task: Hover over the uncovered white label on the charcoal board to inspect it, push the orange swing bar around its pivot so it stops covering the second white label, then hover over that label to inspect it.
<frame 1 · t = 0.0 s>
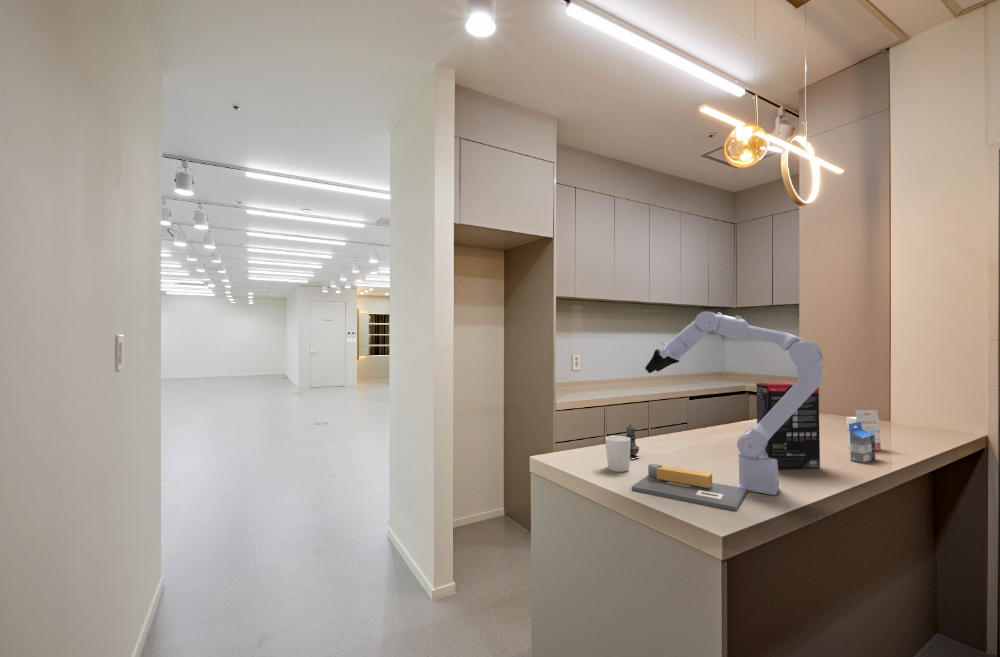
hand: (651, 369, 139), 32 cm above the worktop, tool tilted 50°, fingers open, 7 cm apart
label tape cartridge: (863, 460, 146), on the worktop
graphics card box: (789, 467, 140), on the worktop
swing bar: (678, 475, 124), point 3 cm above the worktop, hinge at 0.0°
label board: (688, 491, 119), on the worktop
white cup: (618, 469, 141), on the worktop
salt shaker: (631, 457, 155), on the worktop
ink cartridge box: (863, 449, 159), on the worktop
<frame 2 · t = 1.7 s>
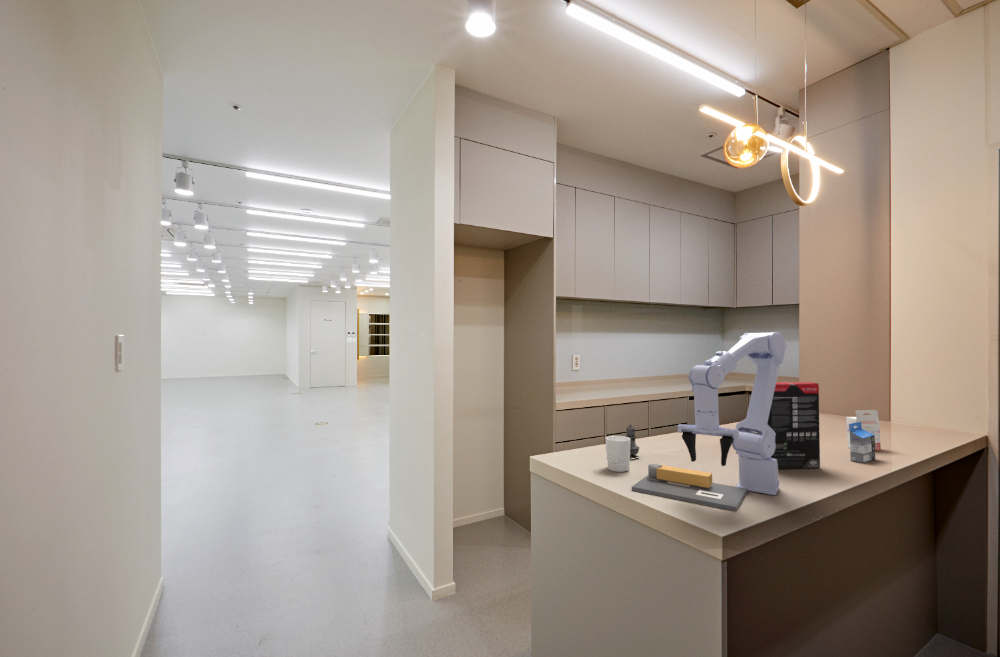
hand: (708, 462, 114), 9 cm above the worktop, tool pointing down, fingers open, 7 cm apart
nothing on the worktop moved.
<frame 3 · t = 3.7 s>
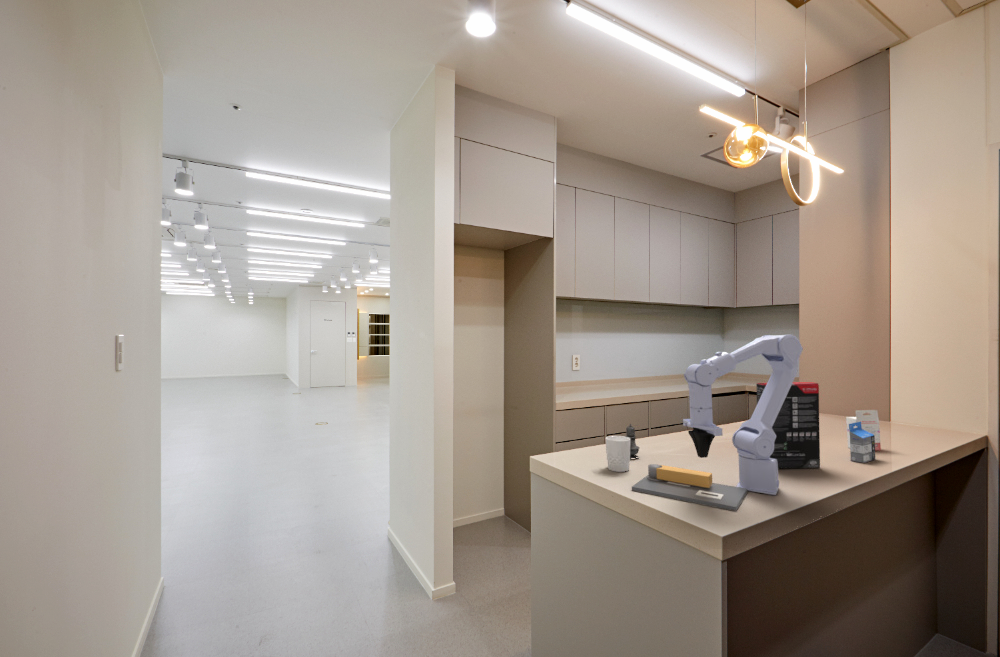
hand: (702, 456, 120), 9 cm above the worktop, tool pointing down, fingers closed
nothing on the worktop moved.
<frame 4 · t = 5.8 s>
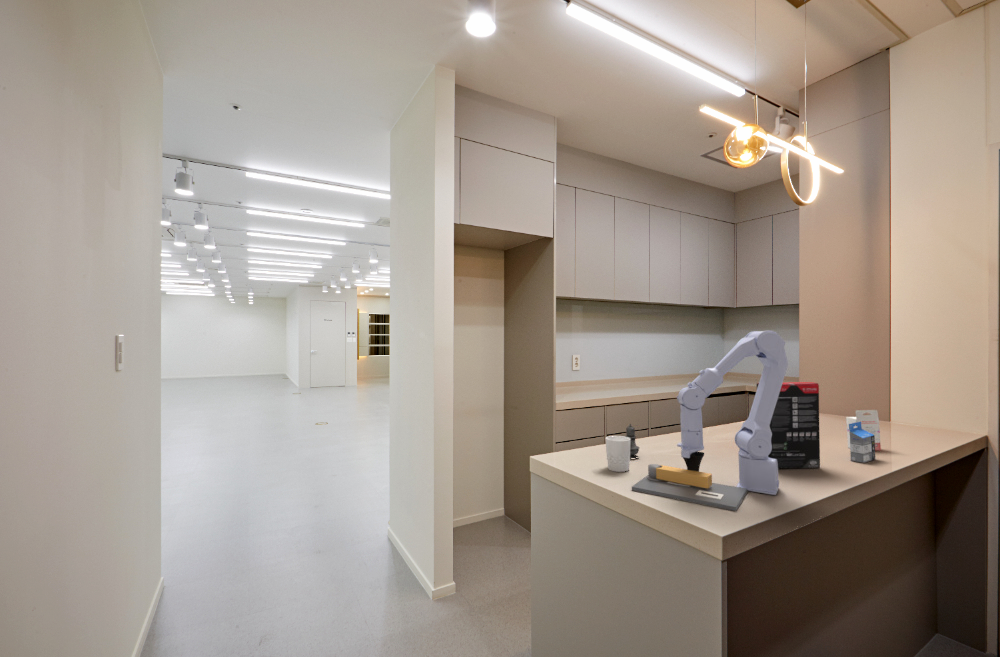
hand: (693, 477, 123), 2 cm above the worktop, tool pointing down, fingers closed, pressing on swing bar
swing bar: (677, 475, 124), point 3 cm above the worktop, hinge at 2.7°, touching gripper
everything else where it was.
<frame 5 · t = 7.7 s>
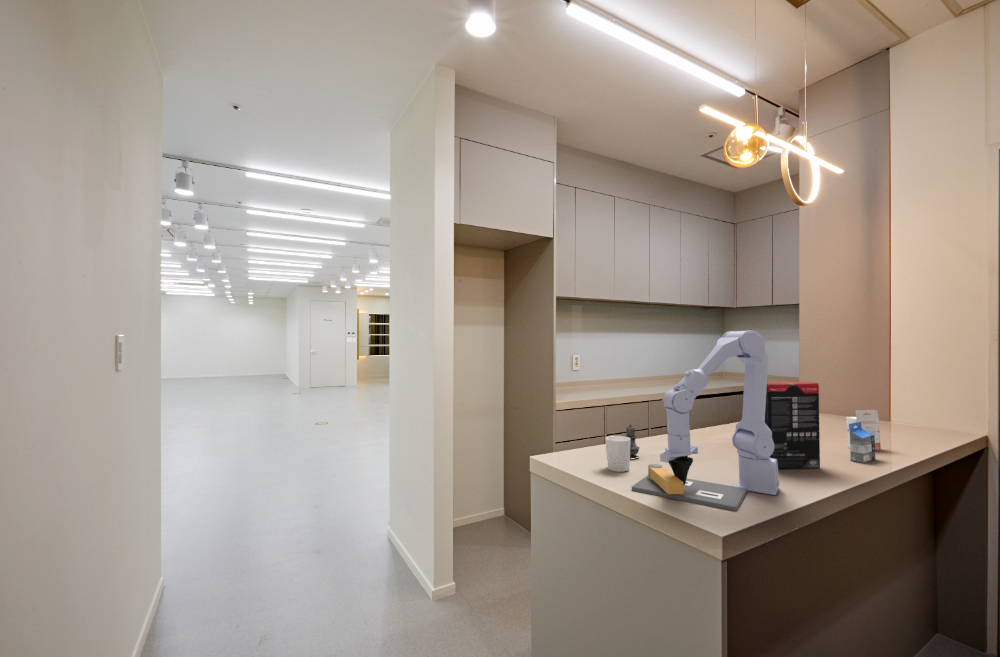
hand: (680, 484, 118), 2 cm above the worktop, tool pointing down, fingers closed
swing bar: (663, 478, 121), point 3 cm above the worktop, hinge at 52.0°, touching gripper
everything else where it was.
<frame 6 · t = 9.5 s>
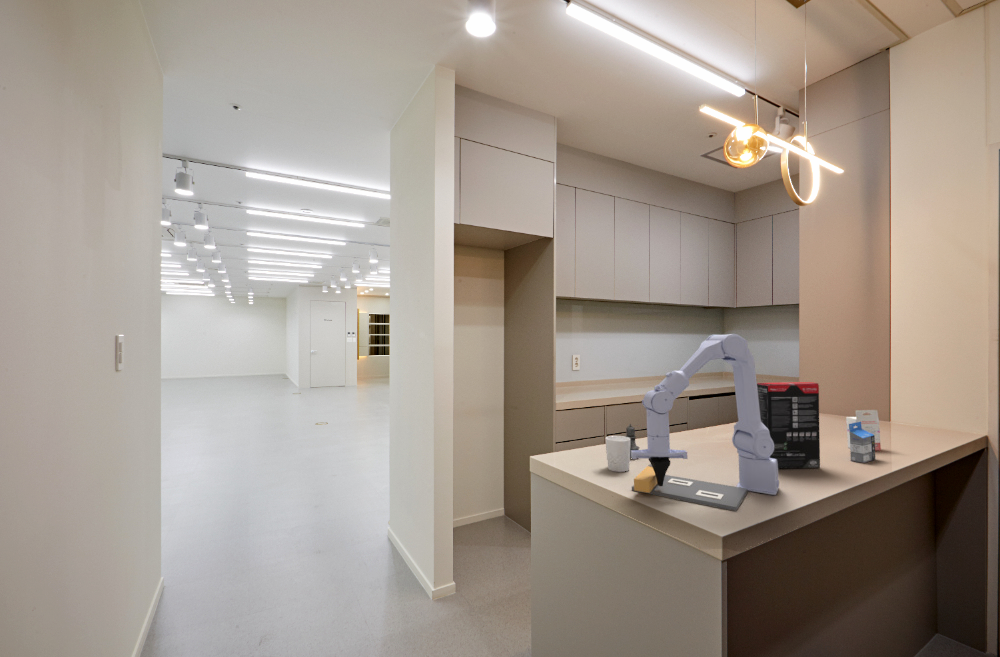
hand: (660, 485, 118), 2 cm above the worktop, tool pointing down, fingers closed
swing bar: (649, 477, 123), point 3 cm above the worktop, hinge at 85.1°, touching gripper
everything else where it was.
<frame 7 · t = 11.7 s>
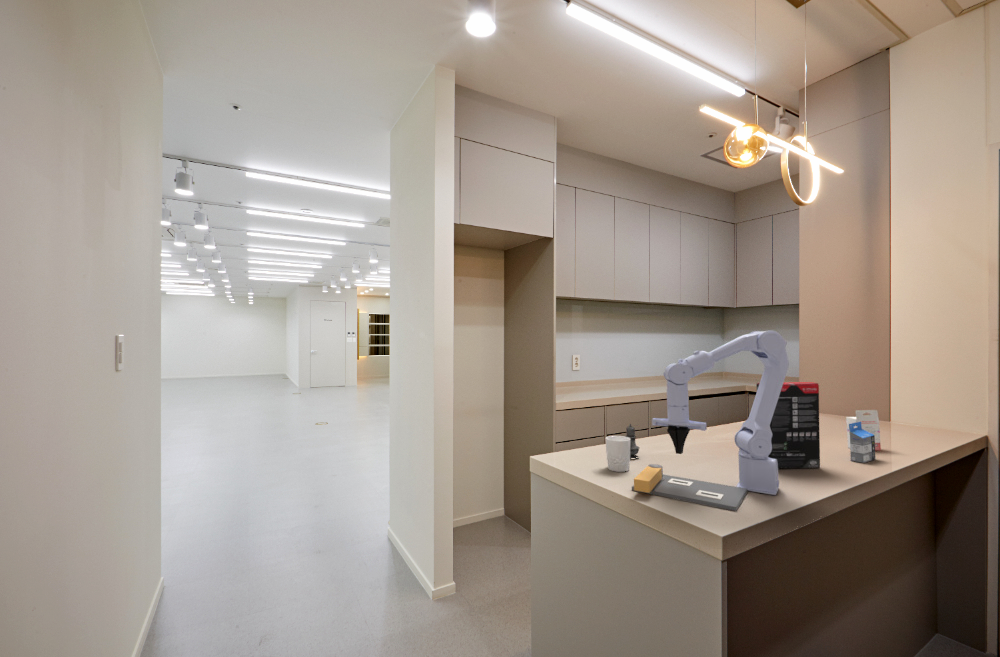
hand: (679, 453, 124), 9 cm above the worktop, tool pointing down, fingers closed
swing bar: (649, 477, 123), point 3 cm above the worktop, hinge at 85.1°
everything else where it was.
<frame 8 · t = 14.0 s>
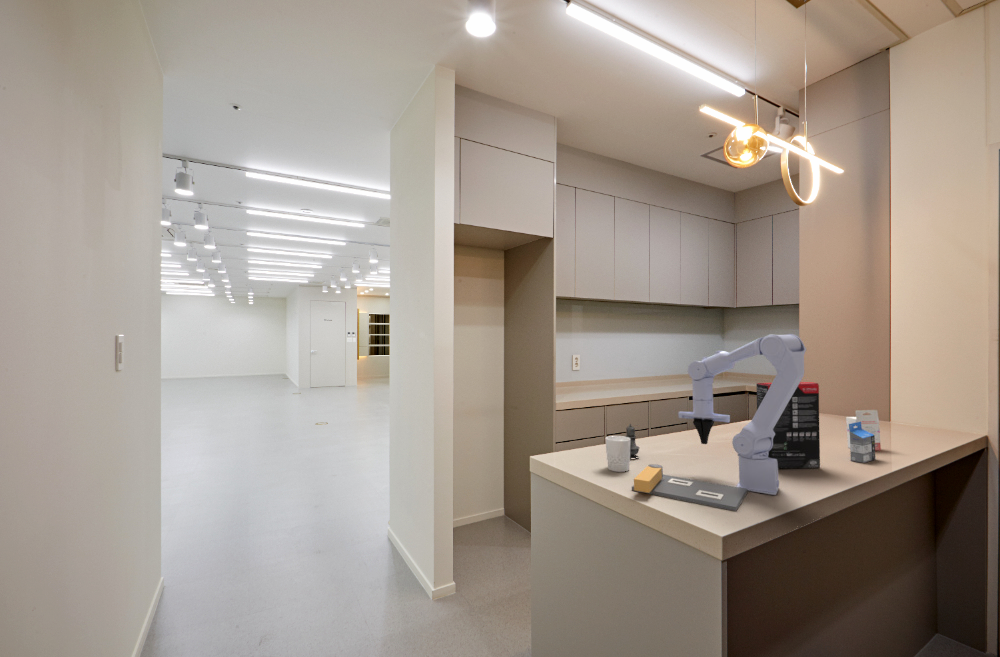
hand: (704, 443, 135), 9 cm above the worktop, tool pointing down, fingers closed
nothing on the worktop moved.
at the end: swing bar at +85° (first picture: +0°) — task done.
